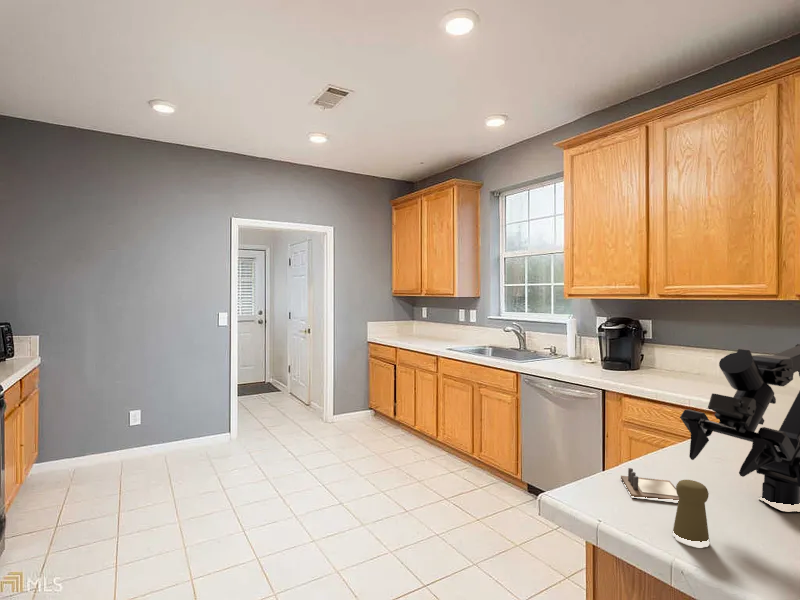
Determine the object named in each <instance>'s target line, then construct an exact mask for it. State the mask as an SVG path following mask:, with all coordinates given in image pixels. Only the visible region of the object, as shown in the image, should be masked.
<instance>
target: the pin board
mask: <svg viewBox="0 0 800 600" xmlns="http://www.w3.org/2000/svg"><path fill="white" fill-rule="evenodd" d="M627 473H628V474H627V475H628V476H627V475H620V480H621V479H622V481H623V482H624V484H625V485H626V487H627V489H628V491H629V492H630V494H631V496H634V497H645V498H646V497H647V498H658V499H673V500H679V496H678V495H677V492H676V486H675V485H674V484H673V483H672V481H670V480H667V479H659V478H658V479H655V478H648V477H647V478H646V477H639V476H638V475H636V472H634V469H633V468H631V467H628V469H627ZM622 481H621V482H622ZM624 484H623V485H624ZM628 491H627V492H628ZM631 496H630V497H631Z"/></svg>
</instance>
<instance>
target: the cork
mask: <svg viewBox="0 0 800 600" xmlns="http://www.w3.org/2000/svg"><path fill="white" fill-rule="evenodd" d="M675 485H676V486H675V488H676V492H677V495H678V496H679V501H678V504H677V507H676V513H675V518H674V523H673V528H672V532H673V531H674V533H675V534H676V535H678V536H679V537H681V538H684V539H687V540H691V541H700V542H702V541H707V540H708V539H709V540H710V537H709V535H710V534H709V528H708V519H707V511H706V502H707V501H708V499H709V494H710V493H709V491H708V488H707V486H706V485H705V484H703V483H702V482H699V481H696V480H693V479H692V480H691V479H680V480H679V481H678V482H677V483H676V484H675Z"/></svg>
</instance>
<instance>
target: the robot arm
mask: <svg viewBox="0 0 800 600" xmlns="http://www.w3.org/2000/svg"><path fill="white" fill-rule="evenodd" d="M718 366H719V368H720V370H721V372H722V373H723V376H724V377H725V378H726V380H727V382H728V384H729V386H730V387H731V388H732V389H734V390H735V391H736V392H735V393H734V395H733V396H729V395H725V394H724V395H723V394H720V393H719V394H718V393H711V396H710V399H709V402H708V406H707V409H708V410H712V411H713V412H715V413H714V417H715V418H716V420H719V421H718V422H717V421H712V420H710V419H709V418H708V416H707V414H706V413H705V412H702V411H698V410H697V411H696V410H694V409H693V410H692V409H690V408H689V409H684V410H683V411H682V413H681V414H680V417H679V419H680V420H681V421H682V423H683V424H684V426H685V427H686V429H687V430H688V432H689V433H690V445H689V454H688V455H689V456H688V457H689V458H690V460H692V461H694V460H695V459H696V458H697V457H698V456H699V455H700V453H701V452H702V451H703V449H704V448H705V447H706V445H707V444H708V443H709V441H710V439H709V437H710V436H712V433H713V432H714V433H718V434H721V435H725V436H728V437H729V436H730V437H732V438H736V439H740V440H743V441H748V442H752V445H751V449H750V451H749V452H748V454H747V456H746V458H745V459H744V461H743V462H742V465H741V466H740V469H739V472H738V473H739V476H740V477H743V478H744V477H746V476H748V475H749V474H752V473H753V472H756V474H758V475H763V482H762V484H761V485H762V487H761V488H762V490H761V497H762V498H765V499H766V500H768V501H770V502H776V503H783V504H791V505H794V504H799V503H800V390H798V393H797V395H796V396H795V399H794V401H793V402H792V404H791V406H790V408H789V410H788V412H787V414H786V416H785V418H784V420H783V421H782V424H781V426H780V428H779V429H773V428H770V427H765V426H762V427H760V428H759V429H758V431H756V430H757V427H758V426H759V425H764V423H765V419H764V415H765V413H766V411H767V409H768V407H769V405H770V404H773V405H774V404H777V398H776V397H775V392H774V389H773V388H772V387H771V386H777V387H786V386H787V385H788V384H789V383H790V382H792V381H793V380H794V374H795V373H797V372H798V377H800V343H797V344H796V345H795V346H794V347H791V348H789V349H785V350H783V351H781V352H778V353H776V354H771V355H770V354H768V355H767V354H754V355H752V353H751V351H750V350H749V349H744V348H742V349H741V348H738V350H737V351H736V352H732V353H729V354H727V355H726V356H724V357H722V358H721V359H720V360H719V363H718ZM755 431H756V432H755Z"/></svg>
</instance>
